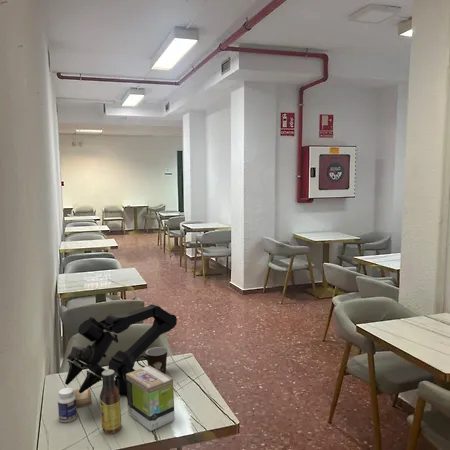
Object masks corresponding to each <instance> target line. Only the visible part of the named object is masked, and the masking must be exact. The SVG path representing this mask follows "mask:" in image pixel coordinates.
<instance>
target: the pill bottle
mask: <svg viewBox="0 0 450 450" xmlns="http://www.w3.org/2000/svg"><path fill="white" fill-rule="evenodd" d="M74 390H75V389H74V388H72V387H63V388H62V389H60V390H59V391H58V396H59V397H58V398H57V406H58V408H57V409H58V420H59V422H61V423H70V422H72V421H75V419H76V418H77V415H78V414H77V408H76V397H75V395H74V394H73V393H74Z"/></svg>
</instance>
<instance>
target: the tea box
mask: <svg viewBox="0 0 450 450" xmlns="http://www.w3.org/2000/svg"><path fill="white" fill-rule="evenodd" d="M135 370H136V371H133V372H130V373H127V374H126V384H127V396H126V398H127V399H126V401H127V414H129V415H130V416H131V417H132V418H133V419H135V420H136V421H137V422H138V423H140V424H141V425H142V426H144V427H145V428H146V429H147V430H148V431H150V432H152V431H154V430H157V429H159V428H161V427H163V426H165V425H167V424H169V423H171V422H173V421H175V419H176V416H175V414H176V413H175V396H174V395H175V394H174V393H175V392H174V379H173V377H170V376H169V375H168V374H164V373H162V372H160V371H159V370H157V369H155V368H153V367H151V366H148V365H147V366H145V367H144V368H143V367H141V368H140V369H135Z"/></svg>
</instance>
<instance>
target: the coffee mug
mask: <svg viewBox="0 0 450 450" xmlns="http://www.w3.org/2000/svg"><path fill="white" fill-rule="evenodd" d="M141 358H144V359H145V361H146V362H147V366H151V367H153V368H155V369H157V370H159V371H160V372H162V373H164V374H166V372H167V361H168V360H167V359H168V349H167V348H166V347H161V346H160V347H159V346H158V347H157V346H156V347H151V348H147V349H146V350H145V355H140V356H139V357H138V358H137V359H136V363H137V364H138V366H140V367H141V368H144V367H146V366H145V365H143V364H141V363H140V362H139V360H140V359H141ZM166 375H167V374H166Z"/></svg>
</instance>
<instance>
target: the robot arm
mask: <svg viewBox="0 0 450 450" xmlns="http://www.w3.org/2000/svg"><path fill="white" fill-rule="evenodd" d="M152 318H153V322H152V325H151V327H150V328H149V329H147V330H146V331H145V332H144V334H143V335H141V337H139V339H137V340H136V341H135V342H134V343H133V344H132V345H131V346H130V347H129V348H128V349H127V350H125V351H122V350H117V352H116V353H115V354H114V355H112V356H111V357H110V360H109V362H108V367H107V368H108V370H109V369H111V370H114V371H115V377H114V379H115V385H116V386H117V388H118V389H119V396H126V397H127V384H126V374H127V373H130V372H133V371H136V370H137V369H134V367H135V364H136V362H137V358H138V357H140V356H142V354H143V353H144V352H146V351H147V350H148V349H149V347H151V346H152V345H153V343H154V342H155V341H157V339H158V338H159V337H161V335H163V334H166V333H168V332H170V331H171V330H173V329H174V328H175V327H176V326H177V323H178V319H177V316H176V315H175V314H172V313H169V312H168V311H166V310H164V309H163V308H162V307H161V306H160V305H157V304H152V303H151V304H149V305H147V306H145V307H142V308H138V309H136V310H133V311H130V312H126V313H114V314H108V315H107V316H106V317H105V318H104V319H102V320H99V321H97V319H95V318H94V317H92V316H90V317H89V318H88V319H86V320H85V321H83V322H82V323H80V325H79V327H78V330H77V332H78V334H79V335H80V336H82V337H83V338H85V339H86V340H88V341H89V342H92V343H91V345H90V344H88V345H87V346H86V347H79V346H73V345H72V348H71V351H70V353H69V354H68V356H67V357H66V359H67V363H68V366H69V367H68V372H67V376H66V379H65V382H64V385H66V386H68V385H69V384H71V382H73V380H74V379H75V378H76V377H78V375H79V374H80V373H81V372H82V371H83V370H84V369H83V368H86V369H88V370H86V377H85V379H84V381H83V382H82V384H81V386H80V388H79V389H80V390H79V393H82V392H84V391H85V390H87V389H91V387H92V386H94V385H95V384H98V383H99V382H103V380H102V372H103V371H105V370H106V368H104V367H102V366H100V364H99V363H100V362H101V361H102V359H103V358H104V359H105V358H107V356H108V355H107V354H106V353H107V351H108V350H109V348H110V346H111V345H112V343H113V342H114V343H116V344H118V343H119V339H118V335H117V334H121V333H124V332H125V331H126V330H128V328H130V326H132V325H134V324H137V323H140V322H142V321H145V320H148V319H152ZM112 333H113V334H112Z"/></svg>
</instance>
